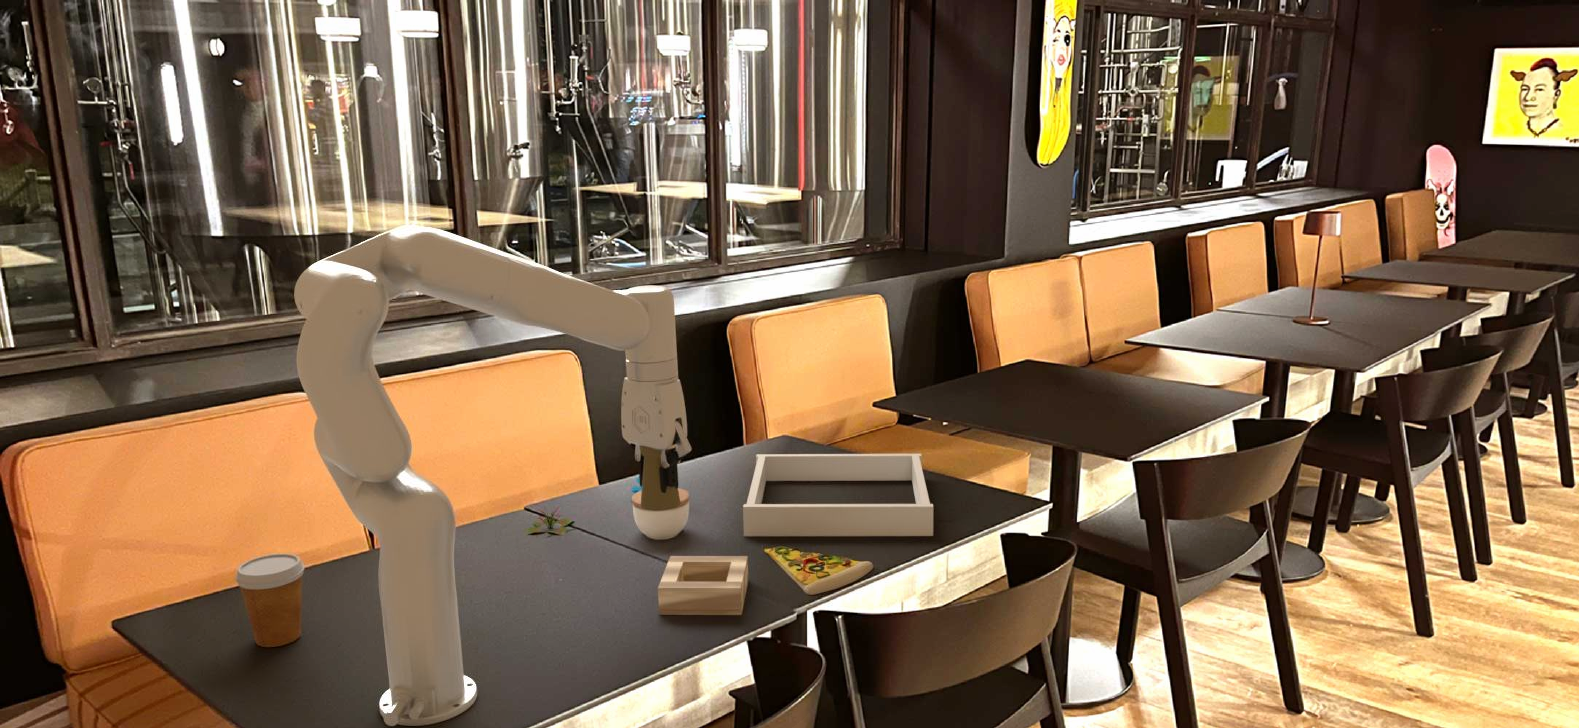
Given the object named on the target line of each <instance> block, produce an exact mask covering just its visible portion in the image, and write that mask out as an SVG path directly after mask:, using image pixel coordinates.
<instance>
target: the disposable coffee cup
mask: <svg viewBox="0 0 1579 728" xmlns="http://www.w3.org/2000/svg"><path fill="white" fill-rule="evenodd" d="M305 567H306V566H305V564H304V563H303V562H302V560H301V557H300V556H298V554H297V555H296V554H294V553H293V554H292V553H270V554H264V555H260V556H258V557H257V556H256V557H254V558H251V559H249V560H246V561H245V562H243V563H242V564H239V566H238V567H237V573H236V575H235V577H234V580H235V582H236V583H237V586H239V587H240V591H241V594H242V599H243V601H244V606H245V609H246V612H247V616H248V619H249V622H250V626H251V630H252V633H253V637H254V641H255V643H256V645H257V646H260V647H262V648H273V647H280V646H281V647H282V646H284V645H288V644H290V643H293V642H294V641H296V640H297V639H299V638H300V637H301V635H302V599H303V598H302V596H303V593H302V592H303V589H302V588H303V575H304V570H306V569H305Z"/></svg>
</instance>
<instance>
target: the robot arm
mask: <svg viewBox="0 0 1579 728" xmlns="http://www.w3.org/2000/svg"><path fill="white" fill-rule="evenodd" d="M410 290H411V291H414V292H417V293H419V294H422V295H425V296H428V297H432V298H436V299H438V300H442V301H445V302H448V303H451V304H456V305H458V306H462V307H465V308H468V309H471V310H474V311H476V312H477V311H478V312H482V313H484V314H487V315H490V316H493V317H495V318H496V317H497V318H499V319H502V320H506V321H511V322H513V323H517V324H520V325H525V326H529V327H536V328H540V329H546V330H551V331H554V332H557V333H562V334H565V335H568V336H571V337H575V338H578V339H581V340H582V341H585V342H588V343H591V344H595V345H598V346H602V347H606V348H609V349H613V350H616V351H624V352H625V366H626V368H625V369H626V377H624V379H623V383H622V390H621V391H622V392H621V407H620V408H621V409H620V410H621V416H620V417H621V418H620V419H621V420H620V421H621V435H622V438H623V439H624V440H625V441H626V442H627V443H628V444H629V445H630V447H631V449H632V451H633V452H634V458H635V461H637V462H638V477H639V480H640V484H639V487H640V486H641V487H642V479H643V465H644V456H643V455H642V453H641V450H640V446H645V447H648V448H653V449H657V450H660V451H661V454H660V457H661V463H662V467H660V468H659V475H660V487H661V492H662V493H666V490H667V486H669V487H674V486H675V488H676V489H677V488H679V474H678V473H679V471H678V468H679V467H678V464H680V463H681V460H682V459H683V458H684V457H685V456H686V455H687V454H690V452H691V451H692V446H691V444H690V442H689V439H688V438H687V437H688V422H687V412H686V411H687V410H686V405H685V403H686V402H685V397H684V392H683V388H682V383H681V380H680V379H679V369H678V352H677V350H678V349H677V334H676V332H677V331H676V316H675V315H676V314H675V298H674V294H673V292H672V290H671V289H670V288H669V287H667V286H664V285H654V284H653V285H652V284H651V285H648V284H647V285H638V286H633V287H630V288H628V289H622V290H621V289H617V290H616V289H615V290H613V289H612V290H611V289H609V288H606V287H603V286H600V285H598V284H597V285H596V284H594V283H591V282H588V281H585V280H582V279H579V278H576V277H573V276H571V275H569V274H564V273H562V272H559V271H557V270H555V269H552V268H550V267H547V266H545V265H543V264H539V263H538V262H534V261H531V260H528V259H526V258H524V257H520V256H517V255H514V254H511V253H508V252H506V251H503V250H500V249H497V248H495V247H492V246H489V245H485V244H482V243H480V242H477V241H474V240H471V239H469V238H466V237H463V236H460V235H457V234H455V233H451V232H449V231H446V230H442V229H440V228H439V229H438V228H434V227H429V226H428V227H427V226H421V225H413V224H408V225H401V226H399V227H395V228H393V229H390V230H388V231H385V232H383V233H380V234H378V235H376V236H374V237H372V238H368V239H367V240H365V241H362V242H360V243H358V244H355V245H353V246H351V247H348V248H346V249H343V250H342V251H339V252H337V253H335V254H333V255H330V256H328V257H326V258H323V259H321V260H319V261H317V262H315V263H313V264H311V265H310V266H308V267H307V268H306V269H305V270H304V271H303V272H302V273H301V274H300V276H299V277H298V279H297V281H296V283H295V286H294V291H293V293H294V295H293V296H294V301H295V305H296V308H297V310H298V311H299V313H300V315H302V317H303V318H305V319H306V320H305V322H304V324H303V327H302V329H301V332H300V336H299V340H298V343H297V349H296V369H297V374H298V378H299V382H300V383H301V386H302V388H303V391H304V393H305V395H306V397H307V399H308V401H309V403H310V405H311V408H312V410H313V412H314V413H315V415H316V420H315V424H314V428H313V429H314V430H313V438H314V443H315V447H316V450H317V453H318V454H319V456H320V458H321V460H322V461H323V463H324V464H323V465H325V467H326V468H327V471H328V473H329V474H330V476H331V478H332V480H333V481H334V483H335V485H336V487H337V489H338V490H339V492H340V494H341V495H342V497H343V499H344V501H345V502H346V504H347V506H348V508H349V509H350V510H351V512H352V514H353V516H354V517H355V518H356V520H358V522H359V523H360V524H361V525H363V526H364V527H365V528H366V529H367V530H369V532H371V533H372V535H374V536H375V537H376V538H377V540H378V544H379V561H378V577H377V578H378V590H379V591H378V593H379V599H380V606H381V607H380V608H381V609H380V610H381V617H382V626H383V637H384V645H385V647H384V648H385V654H386V664H387V674H388V684H389V689H388V690H386V691H385V692H384V693H383V694H382V696H381V697H380V699H379V701H378V708H379V713H380V715H381V717H382V718H383V722H384V723H385V724H386V725H387V726H390V727H394V726H396V725H400V726H405V727H406V726H407V727H412V726H413V727H418V726H420V727H421V726H428V725H433V724H438V723H441V722H444V721H448V720H450V719H453V718H455V717H457V716H459V715H461V714H463V712H465V711H467V710H468V709H469V708H471V706H472V705H474V703H475V701H476V699H477V697H478V686H477V684H476V682H475V681H474V680H473V679H472V678H470V677H468V676H467V675H465V674H464V666H463V664H464V663H463V655H462V653H463V651H462V641H461V629H460V628H461V627H460V619H459V607H458V596H457V595H458V594H457V588H456V587H457V586H456V577H455V576H456V573H455V560H454V559H455V540H456V514H455V513H456V512H455V510H454V507H453V504H452V502H451V500H450V499H449V497H448V496H447V494H446V493H445V492H444V491H443V490H442V488H441V487H439V486H438V485H436V484H435V483H434V482H433V481H430V480H429V479H427V478H426V477H425V476H422V475H421V474H419V473H417V472H416V471H415V470H414V469H413V467H412V466H411V465H410V463H409V462H410V460H411V457H412V453H413V452H412V451H413V449H412V447H413V445H412V439H411V435H410V433H409V431H408V429H407V427H406V425H405V423H404V421H403V419H402V417H401V416H400V415H399V413H398V411H397V409H396V407H395V405H394V403H393V402H392V400H391V398H390V397H389V393H388V392H387V390H386V388H385V386H384V385H383V382H382V381H381V378H380V376H379V373H378V371H377V368H376V366H375V364H374V360H373V347H374V343H375V340H376V337H377V335H378V332H379V331H380V330H381V328H382V326H383V324H384V322H385V321H386V319H387V316H388V312H389V309H390V308H389V306H390V301H391V300H393V299H395V298H397V297H399V296H400V295H402V294H405V293H407V292H409V291H410ZM672 443H673V444H672ZM670 449H673V450H672V452H671V454H670V455H669V456H668V452H667V450H670Z"/></svg>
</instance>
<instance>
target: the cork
mask: <svg viewBox="0 0 1579 728" xmlns="http://www.w3.org/2000/svg"><path fill="white" fill-rule="evenodd" d="M672 444H673V443H672ZM640 450H641V453H642V455H643V456H644V465H643V479H642V493H641V507H642V508H643V509H646V510H651V511H663V510H669V509H673V508H675V507H677V506H679V505H680V503H681V502H680V497H679V492H678V488H679V487H678V488H677V489H676V488H675V486H674V487H669V486H667V490H666V493H662V492H661V487H660V475H659V468H660V467H662V463H661V457H660V454H661V451H660V450H657V449H653V448H648V447H645V446H640ZM672 450H673V449H670V450H667V452H668V456H669V455H670V454H671V452H672Z"/></svg>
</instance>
